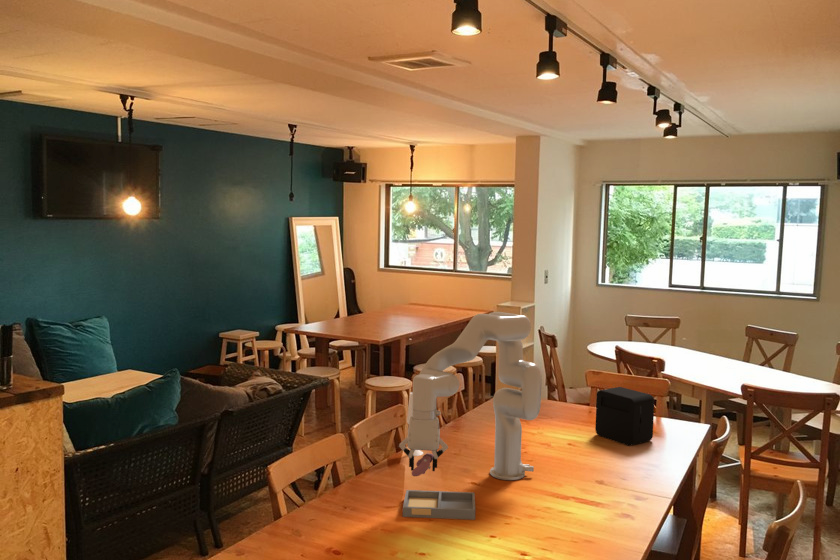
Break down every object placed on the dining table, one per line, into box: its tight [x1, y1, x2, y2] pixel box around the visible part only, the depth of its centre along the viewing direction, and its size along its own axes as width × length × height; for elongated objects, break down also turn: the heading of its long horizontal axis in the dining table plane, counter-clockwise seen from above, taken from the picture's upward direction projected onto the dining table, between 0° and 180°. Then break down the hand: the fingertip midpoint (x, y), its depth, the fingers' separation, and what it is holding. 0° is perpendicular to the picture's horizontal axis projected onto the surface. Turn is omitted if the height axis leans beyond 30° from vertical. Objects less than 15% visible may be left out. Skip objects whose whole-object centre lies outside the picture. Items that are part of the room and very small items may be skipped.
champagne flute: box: [406, 391, 424, 457], centre depth 277 cm, size 7×7×24 cm
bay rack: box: [402, 489, 476, 521], centre depth 225 cm, size 22×14×3 cm, turn 86°
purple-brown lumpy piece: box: [411, 452, 433, 477], centre depth 224 cm, size 10×5×7 cm, turn 170°
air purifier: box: [595, 386, 655, 447], centre depth 301 cm, size 20×15×20 cm
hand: (423, 469), depth 224 cm, fingers closed on purple-brown lumpy piece, 6 cm apart
